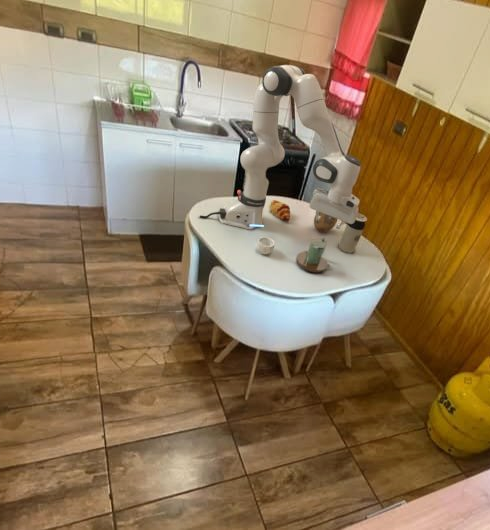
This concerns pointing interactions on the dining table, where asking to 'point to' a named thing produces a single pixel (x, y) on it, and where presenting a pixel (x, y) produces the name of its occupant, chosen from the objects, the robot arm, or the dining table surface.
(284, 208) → the croissant
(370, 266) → the dining table surface
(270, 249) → the teacup
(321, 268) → the green mug on saucer
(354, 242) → the travel mug
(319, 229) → the ceramic vessel
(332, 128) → the robot arm
